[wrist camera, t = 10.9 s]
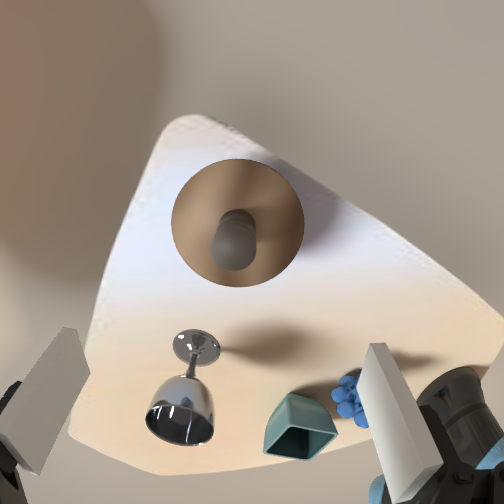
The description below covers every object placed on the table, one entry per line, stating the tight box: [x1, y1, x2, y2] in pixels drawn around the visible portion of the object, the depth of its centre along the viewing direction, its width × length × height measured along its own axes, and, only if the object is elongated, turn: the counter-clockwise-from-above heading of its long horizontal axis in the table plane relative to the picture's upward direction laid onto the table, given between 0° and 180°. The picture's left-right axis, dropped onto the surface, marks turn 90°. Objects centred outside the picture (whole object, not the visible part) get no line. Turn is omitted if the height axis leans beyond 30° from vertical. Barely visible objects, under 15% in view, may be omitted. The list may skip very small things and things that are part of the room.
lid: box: [171, 159, 304, 287], centre depth 29 cm, size 13×13×7 cm
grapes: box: [331, 372, 369, 428], centre depth 42 cm, size 12×7×12 cm, turn 98°
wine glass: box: [145, 329, 220, 446], centre depth 39 cm, size 8×8×15 cm
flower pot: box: [263, 393, 338, 461], centre depth 46 cm, size 9×9×9 cm
